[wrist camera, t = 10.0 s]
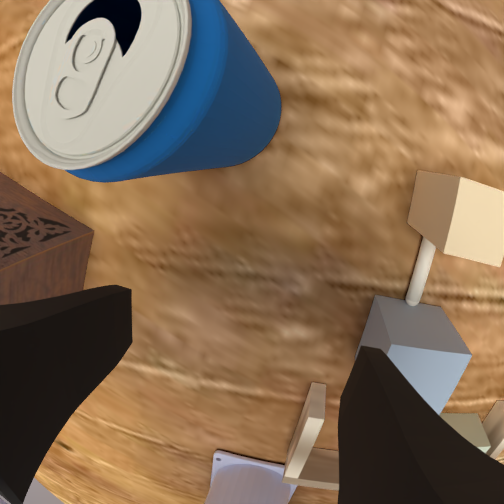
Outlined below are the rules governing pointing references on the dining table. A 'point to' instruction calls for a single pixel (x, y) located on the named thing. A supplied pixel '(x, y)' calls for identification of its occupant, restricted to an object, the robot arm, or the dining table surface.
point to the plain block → (468, 428)
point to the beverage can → (141, 89)
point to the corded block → (410, 310)
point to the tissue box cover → (38, 247)
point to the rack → (327, 461)
